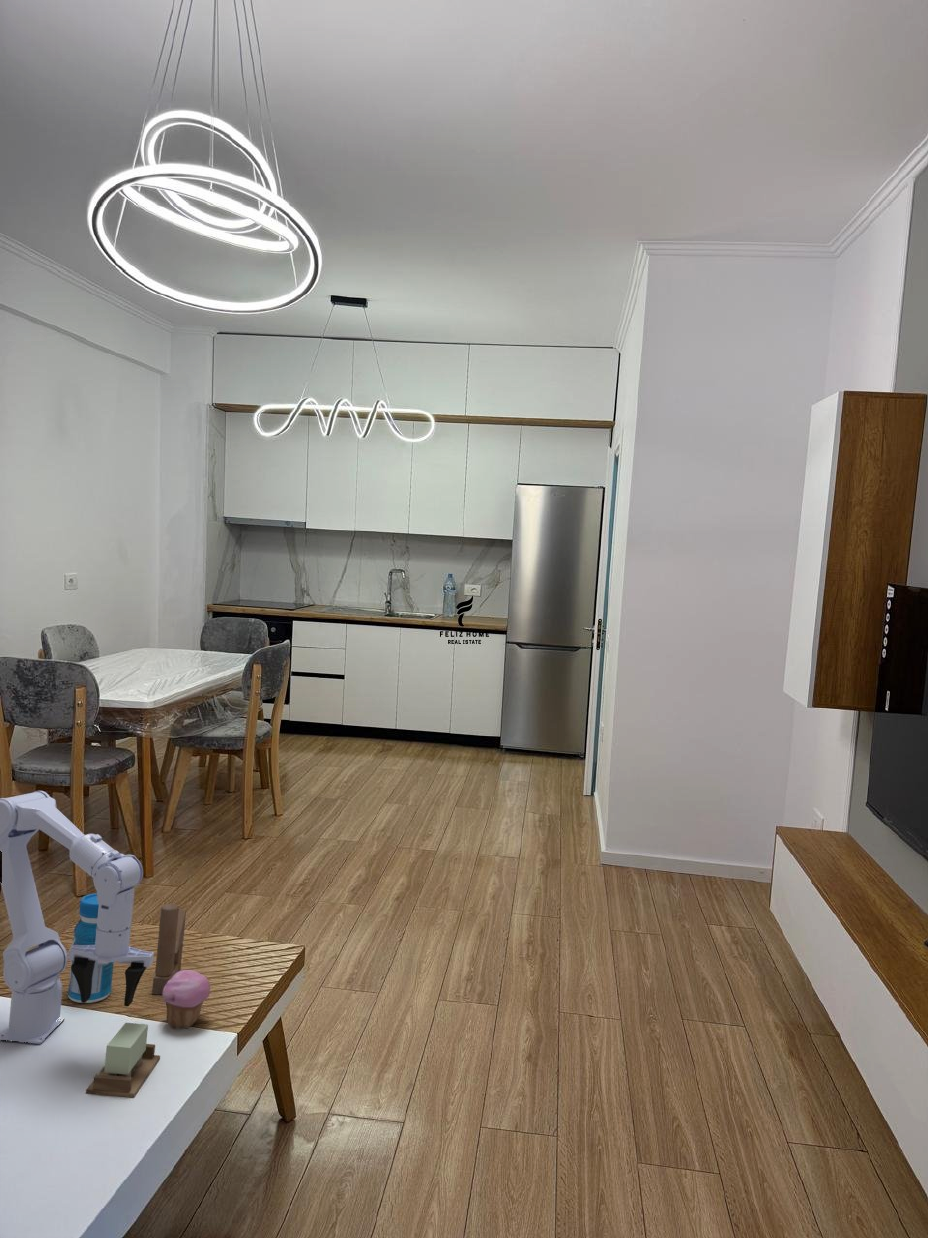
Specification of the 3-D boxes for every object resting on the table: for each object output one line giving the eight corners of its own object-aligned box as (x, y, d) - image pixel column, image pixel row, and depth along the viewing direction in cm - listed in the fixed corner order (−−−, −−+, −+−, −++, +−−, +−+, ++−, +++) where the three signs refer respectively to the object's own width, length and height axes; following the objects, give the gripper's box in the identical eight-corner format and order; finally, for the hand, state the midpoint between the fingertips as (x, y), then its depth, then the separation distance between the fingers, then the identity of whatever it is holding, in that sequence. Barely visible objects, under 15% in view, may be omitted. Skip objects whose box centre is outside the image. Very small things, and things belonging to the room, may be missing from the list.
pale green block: (123, 1048, 148) (125, 1022, 148) (145, 1050, 148) (148, 1024, 148) (104, 1072, 140) (106, 1046, 140) (127, 1074, 140) (130, 1048, 140)
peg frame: (115, 1055, 150) (116, 1040, 150) (159, 1059, 150) (161, 1044, 150) (85, 1093, 138) (87, 1077, 138) (133, 1097, 138) (135, 1082, 138)
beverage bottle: (73, 1008, 165) (82, 908, 165) (61, 991, 171) (70, 894, 171) (117, 999, 170) (126, 901, 170) (104, 982, 177) (113, 889, 177)
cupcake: (174, 1009, 168) (179, 960, 168) (214, 1017, 166) (219, 967, 166) (151, 1030, 159) (155, 978, 159) (192, 1038, 158) (197, 986, 158)
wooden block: (180, 973, 184) (188, 892, 184) (169, 995, 174) (177, 909, 174) (163, 972, 184) (170, 891, 184) (151, 995, 173) (159, 909, 173)
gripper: (62, 931, 145) (55, 1009, 145) (146, 938, 145) (139, 1016, 145) (81, 916, 152) (74, 990, 152) (160, 923, 152) (153, 997, 152)
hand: (107, 1002), depth 149 cm, fingers open, 7 cm apart
